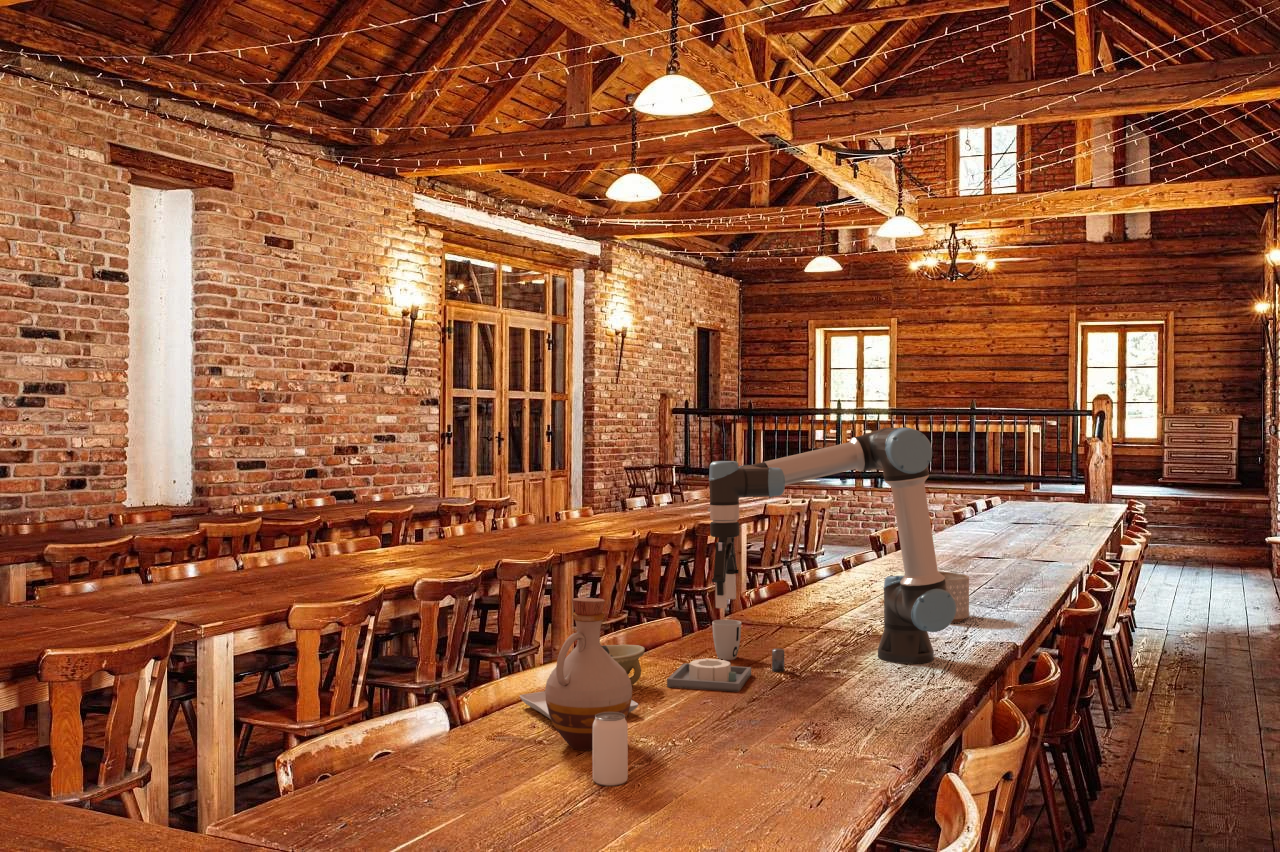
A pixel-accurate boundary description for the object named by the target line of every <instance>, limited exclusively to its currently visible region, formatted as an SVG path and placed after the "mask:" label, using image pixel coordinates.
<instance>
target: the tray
mask: <svg viewBox="0 0 1280 852" xmlns="http://www.w3.org/2000/svg"><path fill="white" fill-rule="evenodd" d="M689 663H690V662H689ZM689 663H688V662H687V663H686V662H685V663H682V664H681V665H680V666H679V667H678V668H677V669H676V670H675V671H674V672H673V673H672V674H670V675H669V677H667V678H666V687H667V688H675V689H676V688H677V689H691V690H703V691H704V690H706V691H720V692H721V691H723V692H734V693H735V692H736V693H739V692H740V690H741V689H742V688H743V687H744V685H746V683H747V681H748V680H749V679H750V678H751V676H752V666H736V665H735V666H734V665H731V672H736V680H735V681H728V682H720V681H705V680H690V679H689Z"/></svg>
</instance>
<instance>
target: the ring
mask: <svg viewBox="0 0 1280 852" xmlns="http://www.w3.org/2000/svg"><path fill="white" fill-rule="evenodd" d="M731 666H732V665H731V662H730V661H729V660H721V659H718V658H699V659H693V660H692V661H690V662H689V679H690V680H705V681H720V682H728V681H735V680H736V672H731Z"/></svg>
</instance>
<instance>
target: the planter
mask: <svg viewBox="0 0 1280 852" xmlns="http://www.w3.org/2000/svg"><path fill="white" fill-rule="evenodd" d="M938 572H939V573H941V574H942V575H943V576H944V577H945V582H946V588H947V592H948V593H950V594H951V596H952V597H953V598H954V600H955V603H956V614H955V617H954V619H953V621H952V622H951V623H959V622H962V621H963V620H964V619H967V618H969V617H970V576H969V575H967V574H964V573H959V572H952V571H951V572H949V571H948V572H947V571H938ZM951 623H950V624H951Z"/></svg>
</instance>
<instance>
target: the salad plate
mask: <svg viewBox="0 0 1280 852" xmlns="http://www.w3.org/2000/svg"><path fill="white" fill-rule="evenodd" d="M519 699H520V700H521V702H523V703H524V704H525V705H527V706H528V707H530V708H532V709H533V710H535V711H537V712H539V713H540V714H542V715H543V716H545V717H547V718H548V719H549V720H551V718H550V715H549V712H548V708H547V704H546V697H545V690H544V691H539V692H538V691H537V692H532V693H524V694H520V695H519ZM638 707H639V703H638V702H636V701H634V700H633V699H631V704H630V709H629V713H631V712H633V711H634V710H636V708H638Z"/></svg>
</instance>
